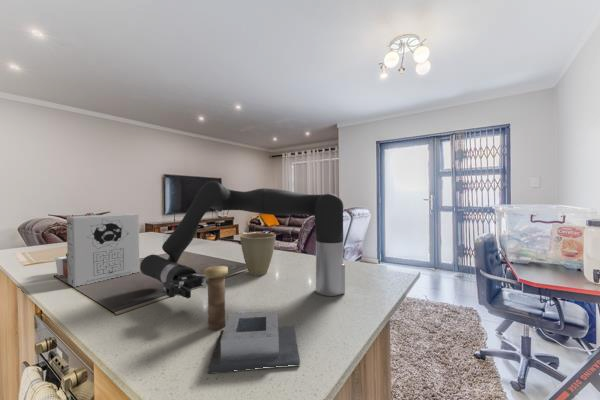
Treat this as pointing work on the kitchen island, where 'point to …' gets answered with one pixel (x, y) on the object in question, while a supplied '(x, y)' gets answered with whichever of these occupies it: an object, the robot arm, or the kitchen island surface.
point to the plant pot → (257, 251)
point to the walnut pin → (216, 296)
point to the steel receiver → (254, 343)
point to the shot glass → (59, 265)
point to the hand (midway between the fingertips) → (205, 289)
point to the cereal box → (102, 247)
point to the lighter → (65, 267)
